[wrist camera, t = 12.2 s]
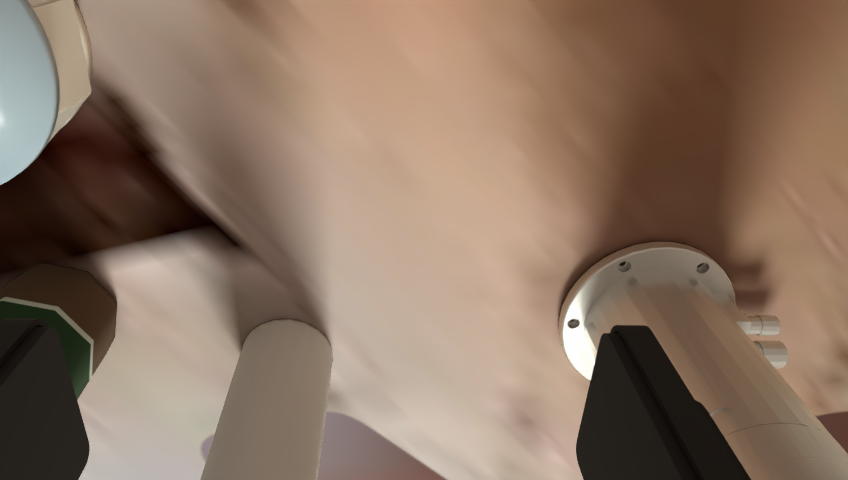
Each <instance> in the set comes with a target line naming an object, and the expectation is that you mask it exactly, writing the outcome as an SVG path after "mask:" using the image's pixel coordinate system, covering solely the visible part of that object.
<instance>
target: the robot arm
mask: <svg viewBox="0 0 848 480" xmlns="http://www.w3.org/2000/svg"><path fill="white" fill-rule="evenodd" d="M780 327H781V326H780V321H779V319H778V318H777V317H776V316H762V315H757V316H746V315H745V314H744V313H742V312H741V311H740V309H739V308H738V307H737V306H736V303H735V293H734V290H733V286H732V283H731V281H730V279H729V278H728V276H727V275H726V273H725V272H724V270H723V269H722V268H721V267H720V266H719V265H718V264H717V263H716V262H715V261H714V259H712V258H711V257H709V256H708V255H707V254H705V253H704V252H702V251H700V250H698V249H696V248H693V247H691V246H689V245H684V244H680V243H675V242H650V243H643V244H637V245H634V246H631V247H628V248H624V249H621V250H619V251H617V252H615V253H613V254H611V255H609V256H607V257H605V258H603V259H602V260H600V261H599V262H598V263H596V264H595V265H593V266H592V267H590V268H589V269H588V270H587V271H586V272H585V273H584V274H583V275H582V276H581V277H580V278H579V279H578V280H577V282H576V283H575V284H574V286H573V287H572V289H571V290H570V291H569V293H568V295H567V297H566V299H565V301H564V303H563V306H562V309H561V313H560V317H559V336H560V340H561V345H562V347H563V350H564V352H565V354H566V357H567V359H568V360H569V362H570V363H571V365H572V366H573V368H574V369H575V370H576V371H578V372H579V373H580V374H581V375H582V376H583V377H584V378H586V379H588V380H589V381H590V386H589V390H588V394H587V399H586V403H585V408H584V412H583V416H582V421H581V425H580V430H579V434H578V438H577V444H576V454H577V460H578V464H579V467H580V470H581V473H582V476H583V479H584V480H848V454H847V453H846V452H845V450H844V449H843V448H842V447H841V446H840V444H839V443H838V442H837V441H836V440H835V439H834V438H833V437H832V436H831V435H830V433H829V432H828V431H827V430H826V429H825V427H824V426H823V425H822V424H821V423H820V421H819V420H818V419H817V418H816V417H815V415H814V414H813V413H812V412H811V411H810V409H809V408H808V407H807V406H806V405H805V404H804V402H803V401H802V400H801V399H800V398H799V396H798V395H797V394H796V393H795V392H794V390H793V389H792V388H791V387H790V386H789V384H788V383H787V382H786V381H785V380H784V379H783V377H782V376H781V375H780V374H779V373H778V371H777V370H776V369H775V368H782V367H784V366H785V365H786V363H787V359H788V353H787V349H786V347H785V345H784V344H783V343H782V342H780V341H752V340H751V339H750V338H749V337H748V336H747V335H748V334H756V335H777V334H778V333H779V332H780ZM88 456H89V441H88V438H87V434H86V431H85V427H84V423H83V420H82V416H81V413H80V409H79V405H78V402H77V398H76V395H75V391H74V388H73V384H72V380H71V377H70V373H69V370H68V366H67V363H66V359H65V355H64V352H63V348H62V345H61V341H60V338H59V334H58V332H57V330H56V329H55V328H52V327H48V325H47V323H46V322H45V321H44V320H42V319H28V318H5V319H1V320H0V480H78V479H79V477H80V475H81V473H82V471H83V469H84V468H85V465H86V463H87V460H88Z"/></svg>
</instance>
